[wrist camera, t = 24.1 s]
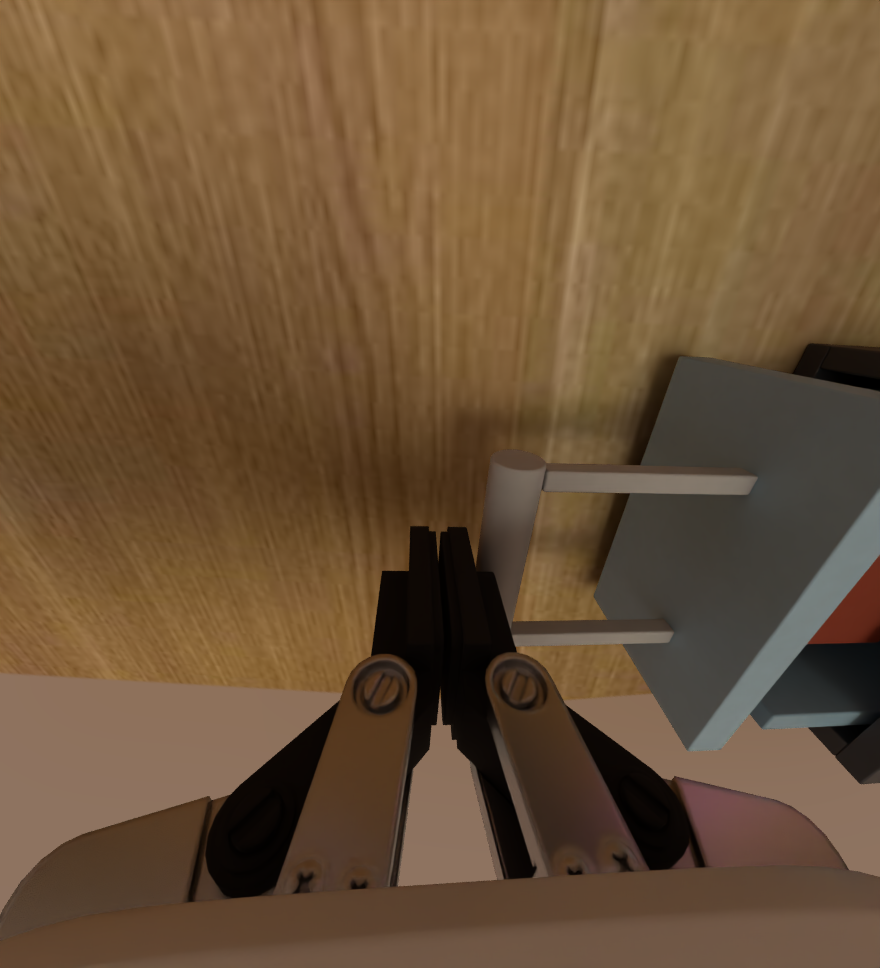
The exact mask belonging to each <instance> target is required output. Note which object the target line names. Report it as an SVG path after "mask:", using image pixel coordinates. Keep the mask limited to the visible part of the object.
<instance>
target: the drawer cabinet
mask: <svg viewBox="0 0 880 968" xmlns="http://www.w3.org/2000/svg"><path fill="white" fill-rule="evenodd" d="M794 375H799V376H804V377H809V378H814V379H819V380H824V381H829V382H834V383H840V384H845V385H850V386H855V387H862V388H880V347H864V346H847V345H830V344H813V343H811V344H809V345H808V347H807V349H806V351H805V353H804V355H803V357H802V359H801V361H800V362H799V364H798V366H797V368H796V370H795V372H794ZM808 728H809V729H810V730H811V731H812V732H813V733H814V735H815V736H816V737H817V738H818V739H819V740H820V741H821V742H822V743H823V744H824V745H825V746H826V747H827V749H828V750H829V751H830V752H831V753H832V754H833V755H835V756H836V759H837V760H838V761H839V762H840V763H841V764H842V765H843V766H844V767H845V768H846V769H847V771H848V772H849V773H850V774H851V775H852V776H853V777H854V778H855V779H856V780H857V781H858V782H859V783H860V784H871V783H880V717H879V718H878V719H877V720H876V721H875V722H874V723H872V724H866V725H846V726H825V727H808Z"/></svg>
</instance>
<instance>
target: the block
mask: <svg viewBox="0 0 880 968" xmlns="http://www.w3.org/2000/svg"><path fill="white" fill-rule="evenodd" d="M879 641H880V555H879V556H878V557H877V559H876V560H875V561H874V562H873V564H872V565H871V566H870V567H869V569H868V570H867V571H866V572H865V573H864V575H863V576H862V577H861V578H860V580H859V581H858V582H857V583H856V584H855V586H854V587H853V588H852V589H851V591H850V592H849V593H848V594H847V595H846V597H845V598H844V599H843V600H842V602H841V603H840V604H839V605H838V606H837V608H836V609H835V610H834V611H833V613H832V614H831V615H830V616H829V617H828V619H827V620H826V621H825V622H824V624H823V625H822V626H821V627H820V628H819V630H818V631H817V632H816V633H815V635H814V636H813V637H812V638H811V639H810V641H809V642H808V643H807V644H834V643H875V642H879Z"/></svg>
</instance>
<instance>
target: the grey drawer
mask: <svg viewBox="0 0 880 968" xmlns="http://www.w3.org/2000/svg"><path fill="white" fill-rule="evenodd" d="M541 489H542V490H543V491H545V492H590V493H630V496H629V498H628V501H627V504H626V507H625V510H624V512H623V515H622V518H621V521H620V524H619V526H618V529H617V532H616V535H615V538H614V540H613V543H612V546H611V549H610V552H609V554H608V557H607V560H606V563H605V566H604V568H603V571H602V574H601V577H600V579H599V582H598V585H597V588H596V591H595V593H594V598H595V600H596V601H597V603H598V605H599V606H600V608H601V610H602V611H603V613H604V615H605V616H606V618H607V619H608V620H575V621H516V622H512V621H513V616H514V612H515V607H516V603H517V598H518V593H519V589H520V584H521V580H522V575H523V571H524V566H525V562H526V557H527V553H528V548H529V543H530V539H531V534H532V530H533V525H534V521H535V516H536V512H537V507H538V502H539V498H540V493H541ZM879 555H880V388H862V387H855V386H850V385H845V384H840V383H834V382H829V381H824V380H819V379H814V378H809V377H804V376H799V375H794V374H789V373H784V372H779V371H774V370H769V369H764V368H759V367H754V366H749V365H744V364H739V363H734V362H729V361H724V360H719V359H714V358H706V357H687V356H680V357H679V359H678V361H677V364H676V367H675V370H674V372H673V375H672V378H671V381H670V384H669V386H668V389H667V392H666V395H665V398H664V400H663V403H662V406H661V409H660V412H659V414H658V417H657V420H656V423H655V426H654V428H653V431H652V434H651V437H650V440H649V442H648V445H647V448H646V451H645V454H644V456H643V459H642V462H641V465H640V466H639V465H597V464H556V463H546V462H545V461H544V460H543V459H542V458H541V457H539V456H537V455H535V454H533V453H530V452H526V451H521V450H501V451H497V452H495V453H494V454H493V455H492V456H491V458H490V466H489V473H488V480H487V488H486V495H485V502H484V510H483V517H482V525H481V532H480V539H479V547H478V554H477V561H476V572H493V573H494V575H495V577H496V581H497V584H498V588H499V591H500V595H501V598H502V602H503V605H504V609H505V612H506V616H507V619H508V623H509V626H510V630H511V633H512V637H513V640H514V644H515V646H555V645H597V644H623V646H624V647H625V649H626V651H627V652H628V654H629V656H630V657H631V659H632V661H633V662H634V664H635V666H636V667H637V669H638V671H639V672H640V674H641V675H642V677H643V679H644V680H645V682H646V684H647V685H648V687H649V689H650V690H651V692H652V694H653V695H654V697H655V698H656V700H657V702H658V703H659V705H660V707H661V708H662V710H663V712H664V713H665V715H666V716H667V718H668V720H669V722H670V723H671V725H672V727H673V728H674V730H675V731H676V733H677V735H678V736H679V738H680V740H681V741H682V743H683V745H684V746H685V748H686V750H687V751H704V750H720V749H721V748H722V747H723V746H724V745H725V744H726V742H727V741H728V740H729V738H730V737H731V736H732V735H733V734H734V733H735V731H736V730H737V729H738V728H739V726H740V725H741V724H742V723H743V721H744V720H745V719H746V718H747V716H748V715H749V714H750V715H751V716H752V717H753V719H754V720H755V721H756V722H757V723H758V725H759V726H760V727H761V728H762V729H783V728H804V727H825V726H846V725H866V724H872V723H874V722H875V721H876V720H877V719H878V718H879V717H880V641H879V642H875V643H834V644H807V643H808V642H809V641H810V639H811V638H812V637H813V636H814V635H815V633H816V632H817V631H818V630H819V628H820V627H821V626H822V625H823V624H824V622H825V621H826V620H827V619H828V617H829V616H830V615H831V614H832V613H833V611H834V610H835V609H836V608H837V606H838V605H839V604H840V603H841V602H842V600H843V599H844V598H845V597H846V595H847V594H848V593H849V592H850V591H851V589H852V588H853V587H854V586H855V584H856V583H857V582H858V581H859V580H860V578H861V577H862V576H863V575H864V573H865V572H866V571H867V570H868V569H869V567H870V566H871V565H872V564H873V562H874V561H875V560H876V559H877V557H878V556H879Z"/></svg>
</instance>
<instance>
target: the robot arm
mask: <svg viewBox="0 0 880 968" xmlns="http://www.w3.org/2000/svg"><path fill="white" fill-rule="evenodd" d="M440 689H441V706H442V721H443V725H451V733H452V740H457V748H458V749H459V750H460V751H461V752H462V753H463V754H464V755H465V756H466V757H467V758H468V759H469V761H470V768H471V773H472V777H473V781H474V786H475V790H476V794H477V798H478V802H479V806H480V810H481V815H482V819H483V823H484V827H485V831H486V835H487V839H488V844H489V847H490V852H491V856H492V860H493V864H494V869H495V873H496V876H497V880H492V881H476V882H462V883H461V882H460V883H446V884H432V885H414V886H399V887H398V881H399V874H400V866H401V858H402V851H403V844H404V836H405V829H406V821H407V814H408V807H409V799H410V791H411V784H412V776H413V768H414V767H415V766H416V765H417V763H418V762H419V761H420V760H421V759H422V757H423V756H424V755H425V753H426V752H427V751H428V750H429V747H430V736H431V725H436V724H437V714H438V704H439V694H440ZM0 968H880V877H877V876H874V875H869V874H865V873H862V872H858V871H851V870H849V869H848V868H847V866H846V864H845V863H844V861H843V859H842V858H841V856H840V854H839V853H838V852H837V850H836V849H835V847H834V846H833V845H832V843H831V842H830V841H829V839H828V838H827V836H826V835H825V834H824V833H823V832H822V831H821V830H820V829H819V828H818V827H817V826H816V825H815V824H814V823H813V822H812V821H810V819H809V818H807V817H806V816H805V815H803V814H802V813H800V812H799V811H797V810H796V809H795V808H793V807H791V806H789V805H787V804H784V803H782V802H780V801H777V800H774V799H770V798H766V797H761V796H756V795H753V794H748V793H744V792H740V791H736V790H731V789H727V788H723V787H718V786H714V785H710V784H706V783H702V782H697V781H693V780H689V779H684V778H680V777H676V776H674V778H673V779H672V781H671V780H667V779H663V778H661V777H660V776H659V775H658V774H657V773H656V772H655V771H653V770H652V769H651V768H650V767H649V766H647V765H646V764H644V763H643V762H641V761H640V760H639V759H638V758H636V757H635V756H634V755H632V754H631V753H630V752H628V751H627V750H625V749H624V748H623V747H622V746H620V745H619V744H618V743H616V742H615V741H613V740H612V739H611V738H609V737H608V736H607V735H605V734H604V733H603V732H601V731H600V730H599V729H597V728H596V727H595V726H593V725H592V724H591V723H589V722H588V721H587V720H585V719H584V718H583V717H581V716H580V715H579V714H577V713H576V712H575V711H573V710H572V709H570V708H569V707H568V706H566V705H565V703H564V701H563V699H562V697H561V695H560V693H559V691H558V689H557V687H556V685H555V683H554V682H553V680H552V678H551V676H550V675H549V673H548V672H547V670H546V669H545V668H544V667H543V666H542V665H541V664H540V663H539V662H538V661H537V660H535V659H533V658H531V657H529V656H528V655H524V654H521V653H517V651H516V647H515V644H514V640H513V637H512V633H511V630H510V626H509V623H508V619H507V616H506V612H505V609H504V605H503V602H502V598H501V595H500V591H499V588H498V584H497V581H496V577H495V575H494V573H493V572H476V567H475V563H474V558H473V554H472V549H471V545H470V540H469V536H468V531H467V528H466V527H448V529H447V532H441V534H440V547H439V561H438V555H437V542H436V532H435V531H429V527H428V526H410V554H409V571H382V576H381V584H380V591H379V599H378V607H377V615H376V622H375V630H374V638H373V645H372V653H371V657H368V658H367V659H365V660H363V661H362V662H360V663H359V664H358V665H357V666H356V667H355V668H354V669H353V670H352V671H351V673H350V675H349V677H348V679H347V681H346V684H345V687H344V690H343V693H342V696H341V698H340V700H339V701H338V702H337V703H336V704H335V705H333V706H332V707H331V708H330V709H329V710H328V711H327V712H325V713H324V714H323V715H322V716H321V717H319V718H318V719H317V720H316V721H315V722H314V723H312V724H311V725H310V726H309V727H308V728H306V729H305V730H304V731H303V732H302V733H301V734H299V735H298V736H297V737H296V738H295V739H294V740H292V741H291V742H290V743H289V744H288V745H286V746H285V747H284V748H283V749H282V750H281V751H279V752H278V753H277V754H276V755H275V756H274V757H272V758H271V759H270V760H269V761H268V762H267V763H265V764H264V765H263V766H262V767H261V768H260V769H258V770H257V771H256V772H255V773H254V774H253V775H251V776H250V777H249V778H248V779H247V780H245V781H244V782H243V783H242V784H241V785H240V786H239V787H238V788H237V789H236V790H235V791H234V792H233V793H232V794H231V795H228V796H225V797H221V798H218V799H215V800H211V798H210V796H207V797H204V798H201V799H198V800H194V801H191V802H188V803H184V804H181V805H178V806H174V807H171V808H168V809H165V810H161V811H158V812H154V813H151V814H148V815H144V816H141V817H138V818H134V819H131V820H128V821H125V822H121V823H118V824H115V825H111V826H108V827H105V828H102V829H98V830H95V831H91V832H88V833H85V834H82V835H80V836H78V837H76V838H73V839H72V840H69V841H67V842H65V843H63V844H61V845H60V846H59V847H57V848H56V849H55V850H53V851H52V852H51V853H50V854H48V855H47V856H46V857H44V858H43V859H42V860H41V861H40V862H39V863H38V864H37V865H36V866H35V867H34V868H33V869H32V870H31V871H30V872H29V873H28V875H26V877H25V878H24V879H23V880H22V881H21V882H20V884H19V885H18V887H17V888H16V890H15V891H14V893H13V894H12V896H11V897H10V899H9V900H8V902H7V904H6V905H5V907H4V909H3V911H2V913H1V915H0Z"/></svg>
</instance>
